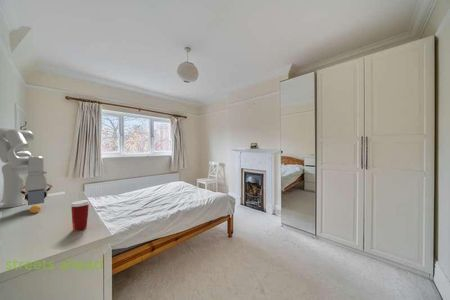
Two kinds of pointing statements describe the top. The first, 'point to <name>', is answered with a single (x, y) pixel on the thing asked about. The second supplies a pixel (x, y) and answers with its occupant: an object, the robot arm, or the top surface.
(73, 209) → the paper cup
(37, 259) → the top surface
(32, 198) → the pale blue-grey cube
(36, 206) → the ball
